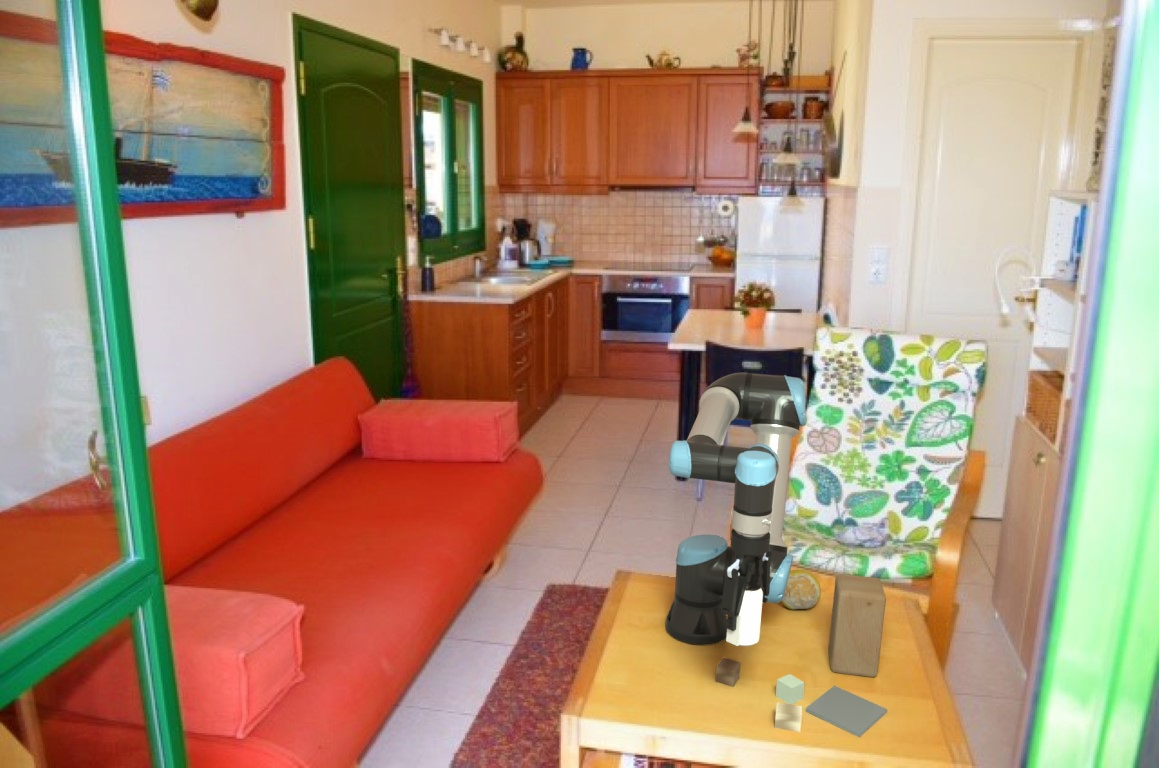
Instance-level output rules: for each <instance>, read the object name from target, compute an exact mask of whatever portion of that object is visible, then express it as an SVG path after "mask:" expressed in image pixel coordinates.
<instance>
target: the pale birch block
mask: <svg viewBox="0 0 1159 768" xmlns="http://www.w3.org/2000/svg"><path fill="white" fill-rule="evenodd" d="M802 717H803V706H802V705H798V704H792V705H791V704H787V703H786V702H785V703H784V702H778V701H777V702H776V706H775V717H774V729H780V730H784V731H785V730H786V731H791V732H797V733H801V727H802Z"/></svg>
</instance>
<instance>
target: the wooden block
mask: <svg viewBox="0 0 1159 768" xmlns="http://www.w3.org/2000/svg"><path fill="white" fill-rule="evenodd" d="M832 601H833V602H832V609H831V610H832V611H831V619H830V629H829V632H830V633H829V640H828V649H827V650H828V656H829V663H830V669H831V671H832V672H834V673H837V674H847V675H854V676H861V677H862V676H863V677H868V678H875V677H877V675H878V671H879V664H880V663H879V662H880V656H881V646H882V637H883V629H884V628H883V627H884V621H885V613H886V611H885V610H886V603H887V597H886V594H885V591H884V587H883V582H882V581H881V579H880V578H878V577H871V576H870V577H869V576H861V575H852V574H844V573H838V574H837V575H836V577H835V581H834V590H833V600H832Z"/></svg>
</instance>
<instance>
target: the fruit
mask: <svg viewBox="0 0 1159 768" xmlns="http://www.w3.org/2000/svg"><path fill="white" fill-rule="evenodd" d="M821 595H822V589H821V584H820V582H819V580H818V579H817V577H816V576H815V575H814V574H813V573H812V572H810V571H807V570H804V569H791V570H790V574H789V578H788V583H787V587H786V591H785V594H784V598H783V600H782V601H781V602H780V603H781V604H782V605H783V606H784V607H785V608H787V609H790V610H799V609H800V610H803V609H812V608H813V607H814V606H816V605H817V604H818V602H819V601H820V599H821Z"/></svg>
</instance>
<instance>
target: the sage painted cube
mask: <svg viewBox="0 0 1159 768" xmlns="http://www.w3.org/2000/svg"><path fill="white" fill-rule="evenodd" d="M775 687H776V688H775V697H777V698H778V699H780V700H781V701H783V703H784V702H785V704H791V705H795V703H798V702H800V701H802V700H804V691H805V682H804V681H802V680H801V679H799V678H797V677H796V676H794V675H792V674H790V673H789V674H786V675H784V676H782V677H780V678H777V679H776V686H775Z"/></svg>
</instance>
